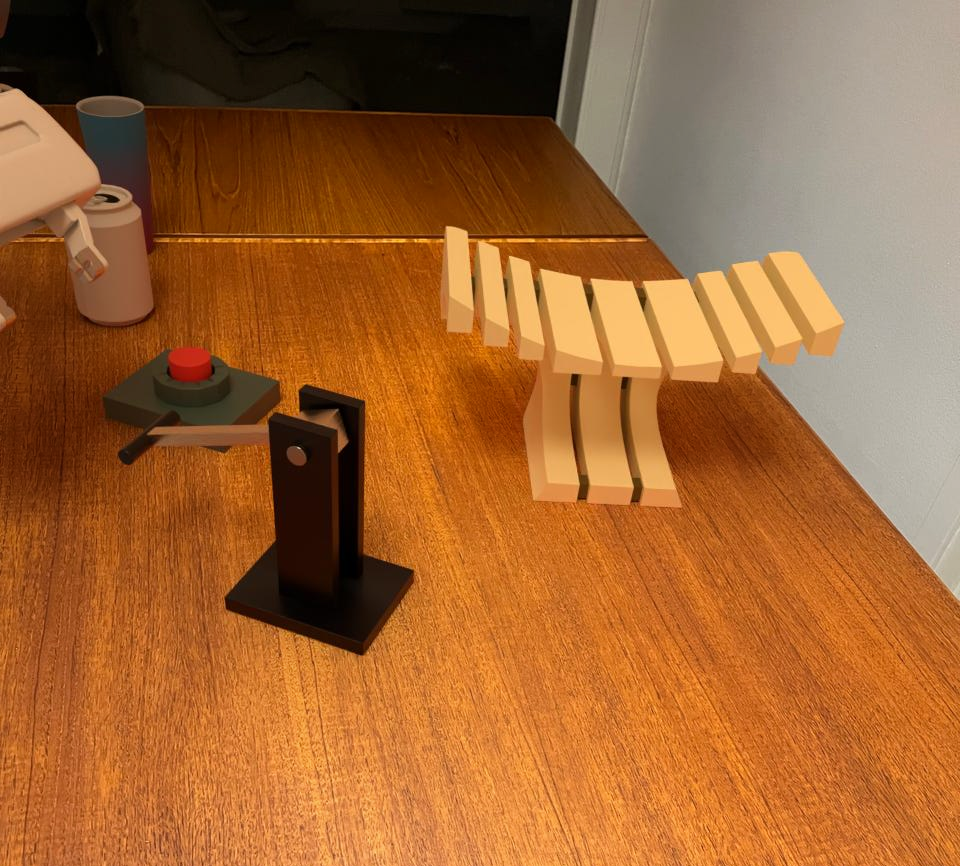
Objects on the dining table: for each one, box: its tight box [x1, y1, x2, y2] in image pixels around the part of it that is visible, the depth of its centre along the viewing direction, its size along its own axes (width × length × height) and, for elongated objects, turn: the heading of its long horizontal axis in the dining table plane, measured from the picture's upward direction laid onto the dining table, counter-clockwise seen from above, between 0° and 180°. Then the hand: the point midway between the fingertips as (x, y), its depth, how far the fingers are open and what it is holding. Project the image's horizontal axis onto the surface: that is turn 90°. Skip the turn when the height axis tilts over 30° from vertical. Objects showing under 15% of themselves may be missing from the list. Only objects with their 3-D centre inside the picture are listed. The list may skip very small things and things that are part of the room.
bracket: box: [224, 383, 415, 656], centre depth 70 cm, size 11×9×16 cm
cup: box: [75, 95, 155, 255], centre depth 110 cm, size 7×7×15 cm
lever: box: [117, 409, 349, 466], centre depth 68 cm, size 16×6×2 cm, turn 70°
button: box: [168, 346, 212, 382], centre depth 89 cm, size 4×4×2 cm
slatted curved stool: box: [439, 225, 845, 509], centre depth 87 cm, size 30×16×18 cm, turn 92°
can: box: [63, 184, 155, 327], centre depth 100 cm, size 8×8×12 cm
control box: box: [101, 348, 282, 454], centre depth 91 cm, size 12×10×4 cm
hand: (54, 301), depth 66 cm, fingers open, 8 cm apart
